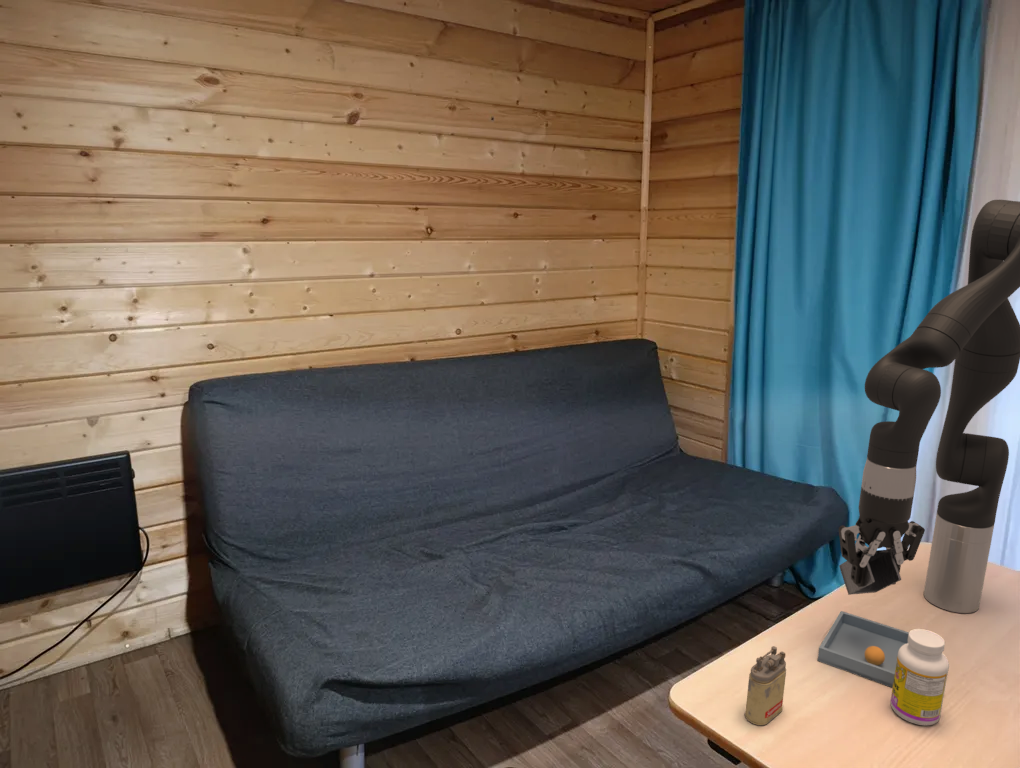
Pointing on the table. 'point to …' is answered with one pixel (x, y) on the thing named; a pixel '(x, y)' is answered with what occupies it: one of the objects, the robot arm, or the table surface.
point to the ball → (874, 655)
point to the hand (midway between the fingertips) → (874, 582)
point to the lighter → (766, 688)
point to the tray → (862, 647)
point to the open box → (873, 573)
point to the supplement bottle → (920, 678)
